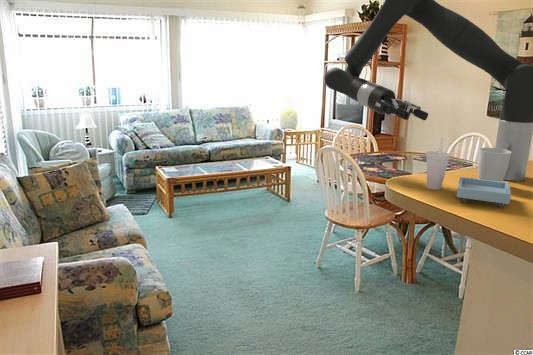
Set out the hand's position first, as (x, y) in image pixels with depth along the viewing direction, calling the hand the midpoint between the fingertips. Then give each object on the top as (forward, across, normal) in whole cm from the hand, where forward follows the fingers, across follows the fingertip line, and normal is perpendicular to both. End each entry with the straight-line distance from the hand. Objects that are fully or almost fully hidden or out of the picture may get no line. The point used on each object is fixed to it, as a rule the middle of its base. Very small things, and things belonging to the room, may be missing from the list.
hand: (417, 116), depth 124 cm
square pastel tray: (+25, +1, +13) cm, 28 cm away
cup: (+19, +17, +13) cm, 29 cm away
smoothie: (+12, +1, +16) cm, 20 cm away
